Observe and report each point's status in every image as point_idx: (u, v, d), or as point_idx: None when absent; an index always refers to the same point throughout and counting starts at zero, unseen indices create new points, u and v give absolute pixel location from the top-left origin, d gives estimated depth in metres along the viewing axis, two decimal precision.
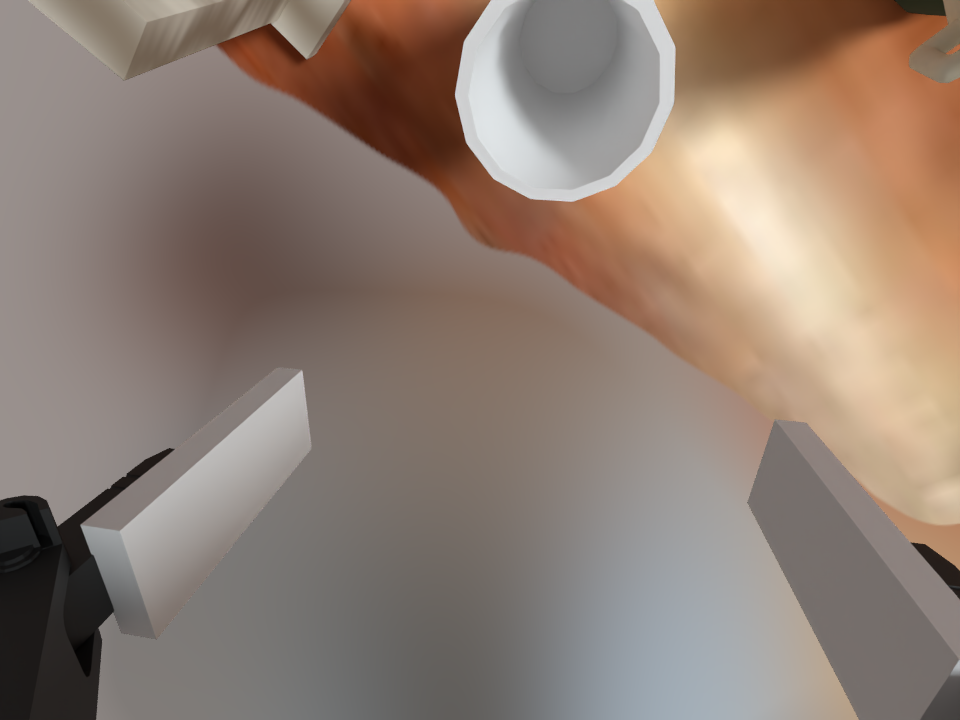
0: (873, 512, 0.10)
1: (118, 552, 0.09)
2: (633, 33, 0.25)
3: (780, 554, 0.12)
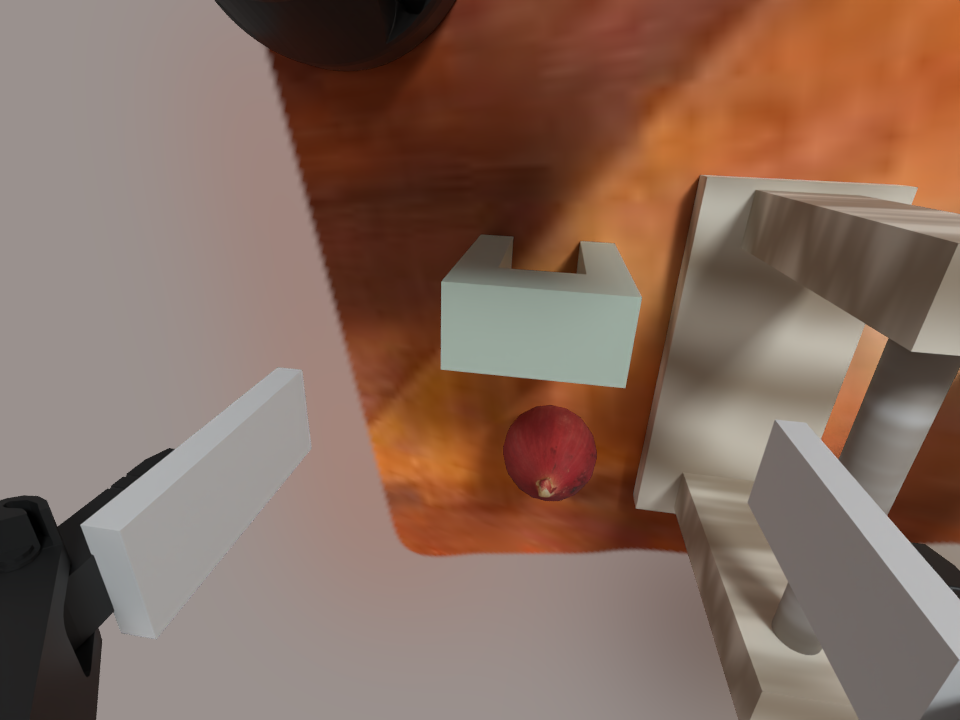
0: (873, 512, 0.10)
1: (118, 552, 0.09)
2: None
3: (780, 554, 0.12)
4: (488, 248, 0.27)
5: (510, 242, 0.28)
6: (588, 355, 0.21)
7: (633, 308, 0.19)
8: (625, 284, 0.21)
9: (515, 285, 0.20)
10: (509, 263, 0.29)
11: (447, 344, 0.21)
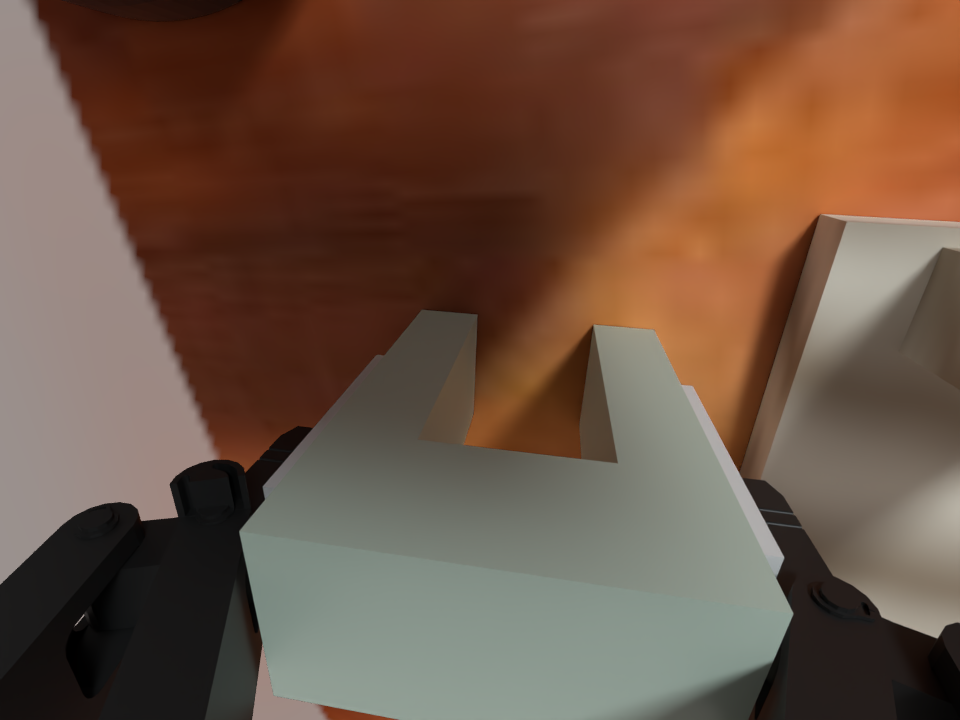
0: (718, 452, 0.11)
1: None
2: None
3: None
4: (421, 355, 0.14)
5: (468, 333, 0.16)
6: (629, 713, 0.08)
7: (764, 635, 0.07)
8: (721, 517, 0.08)
9: (435, 544, 0.07)
10: (468, 367, 0.16)
11: (279, 653, 0.09)
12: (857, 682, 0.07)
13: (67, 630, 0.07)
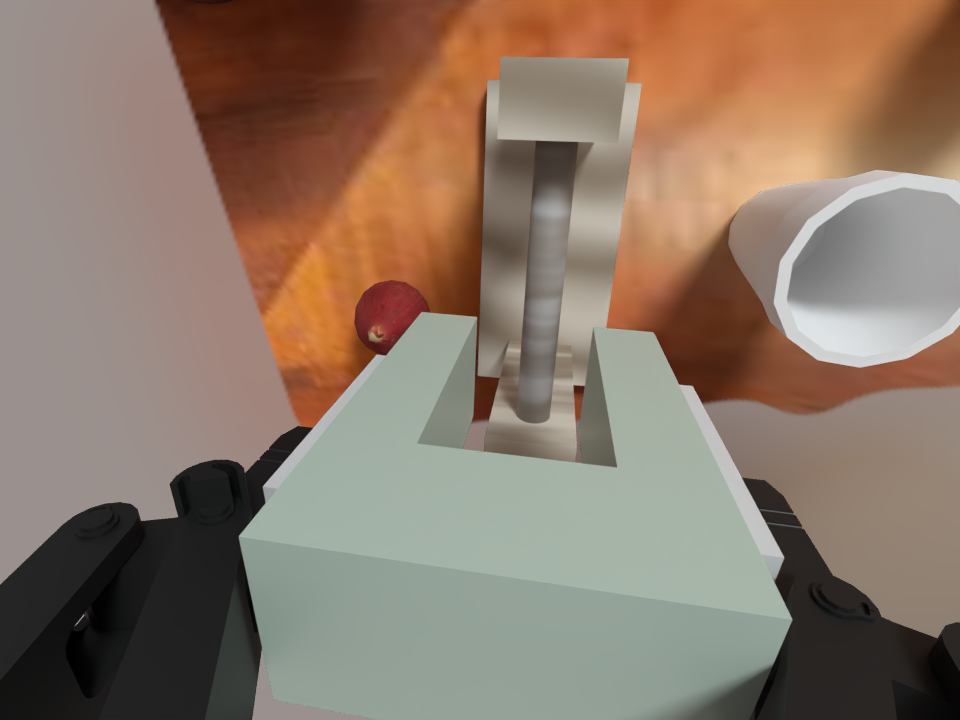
0: (718, 452, 0.11)
1: None
2: None
3: None
4: (420, 358, 0.14)
5: (467, 336, 0.16)
6: (628, 718, 0.08)
7: (763, 640, 0.07)
8: (720, 522, 0.08)
9: (435, 548, 0.08)
10: (467, 370, 0.16)
11: (279, 657, 0.09)
12: (857, 681, 0.07)
13: (67, 630, 0.07)
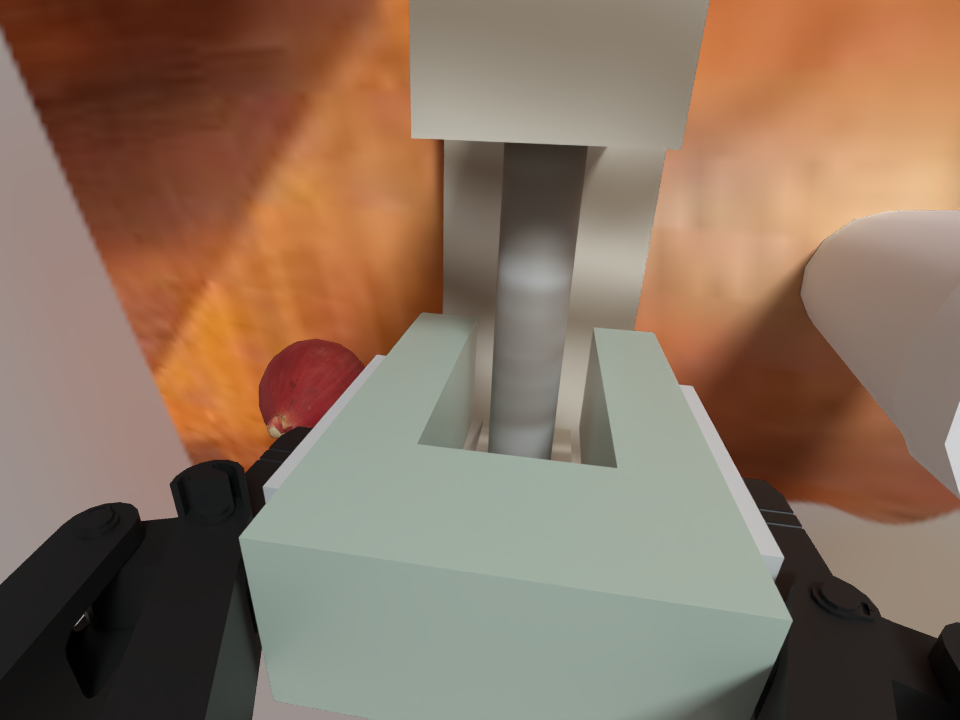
0: (718, 452, 0.11)
1: None
2: None
3: None
4: (420, 359, 0.14)
5: (467, 336, 0.16)
6: (628, 719, 0.08)
7: (764, 641, 0.07)
8: (720, 523, 0.08)
9: (435, 550, 0.07)
10: (467, 370, 0.16)
11: (279, 658, 0.09)
12: (856, 681, 0.07)
13: (67, 630, 0.07)
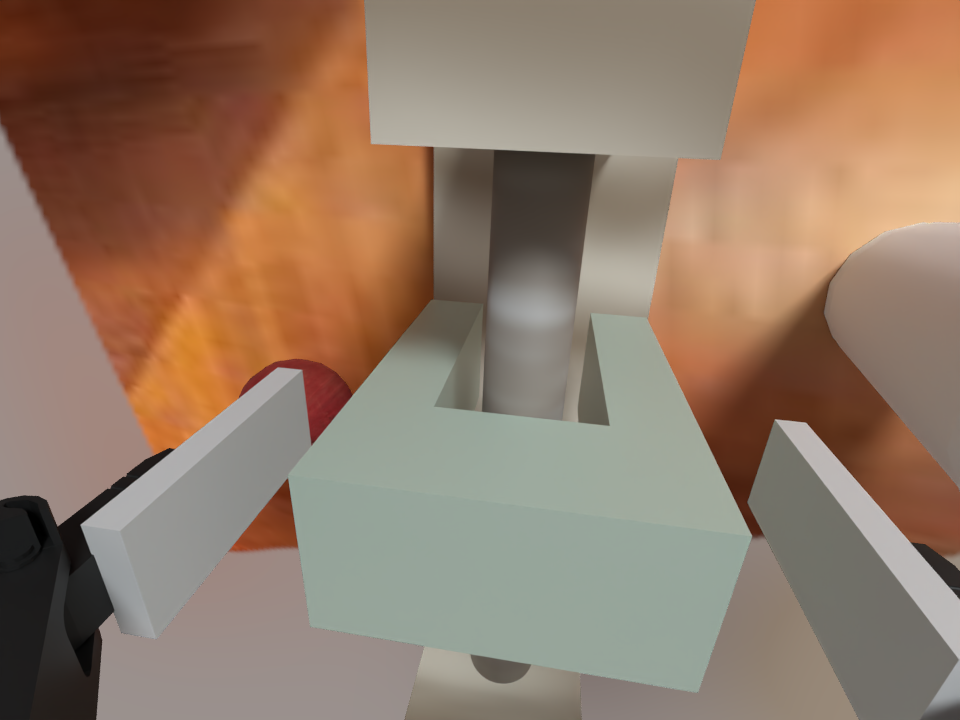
0: (872, 512, 0.10)
1: (118, 552, 0.09)
2: None
3: (779, 554, 0.12)
4: (432, 338, 0.15)
5: (475, 320, 0.17)
6: (619, 632, 0.09)
7: (729, 556, 0.08)
8: (697, 467, 0.10)
9: (454, 485, 0.09)
10: (474, 351, 0.18)
11: (317, 586, 0.10)
12: None
13: None
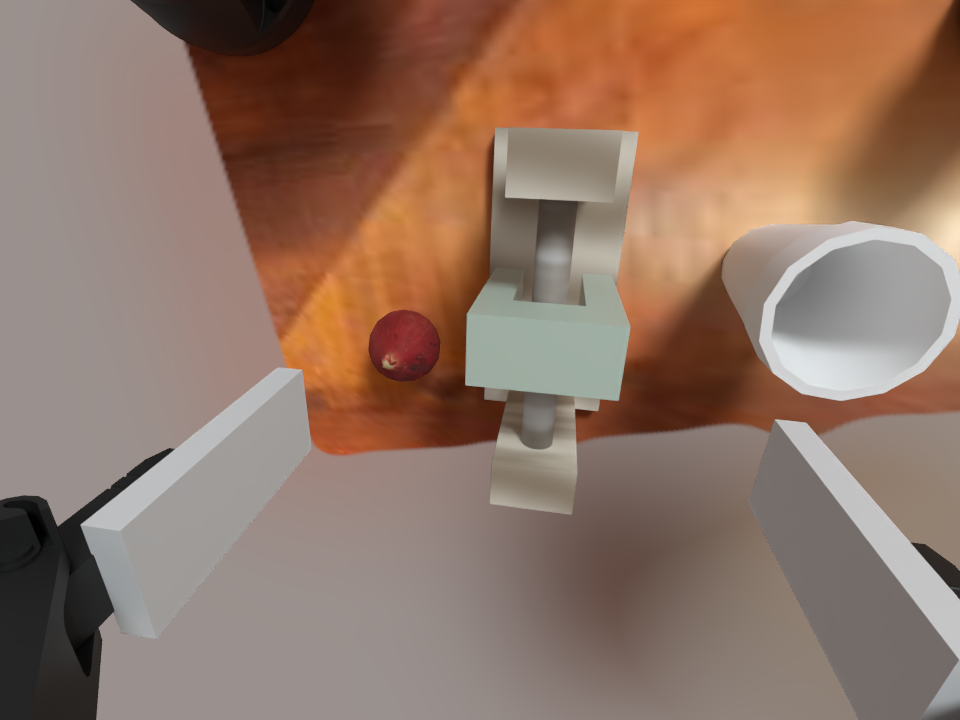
0: (872, 512, 0.10)
1: (118, 552, 0.09)
2: None
3: (780, 554, 0.12)
4: (503, 281, 0.31)
5: (521, 275, 0.33)
6: (587, 374, 0.25)
7: (623, 335, 0.24)
8: (618, 315, 0.25)
9: (527, 316, 0.25)
10: (520, 292, 0.33)
11: (471, 364, 0.26)
12: None
13: None
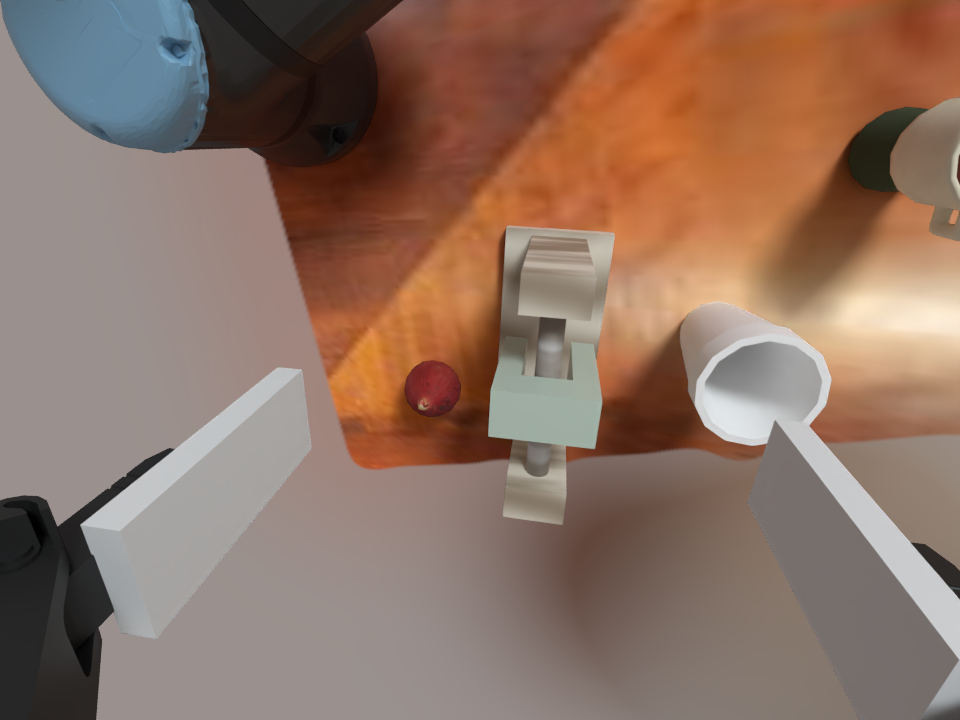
0: (873, 512, 0.10)
1: (118, 552, 0.09)
2: None
3: (779, 554, 0.12)
4: (513, 353, 0.42)
5: (526, 345, 0.44)
6: (573, 431, 0.36)
7: (598, 407, 0.35)
8: (594, 389, 0.37)
9: (532, 392, 0.36)
10: (525, 357, 0.45)
11: (492, 422, 0.37)
12: None
13: None
